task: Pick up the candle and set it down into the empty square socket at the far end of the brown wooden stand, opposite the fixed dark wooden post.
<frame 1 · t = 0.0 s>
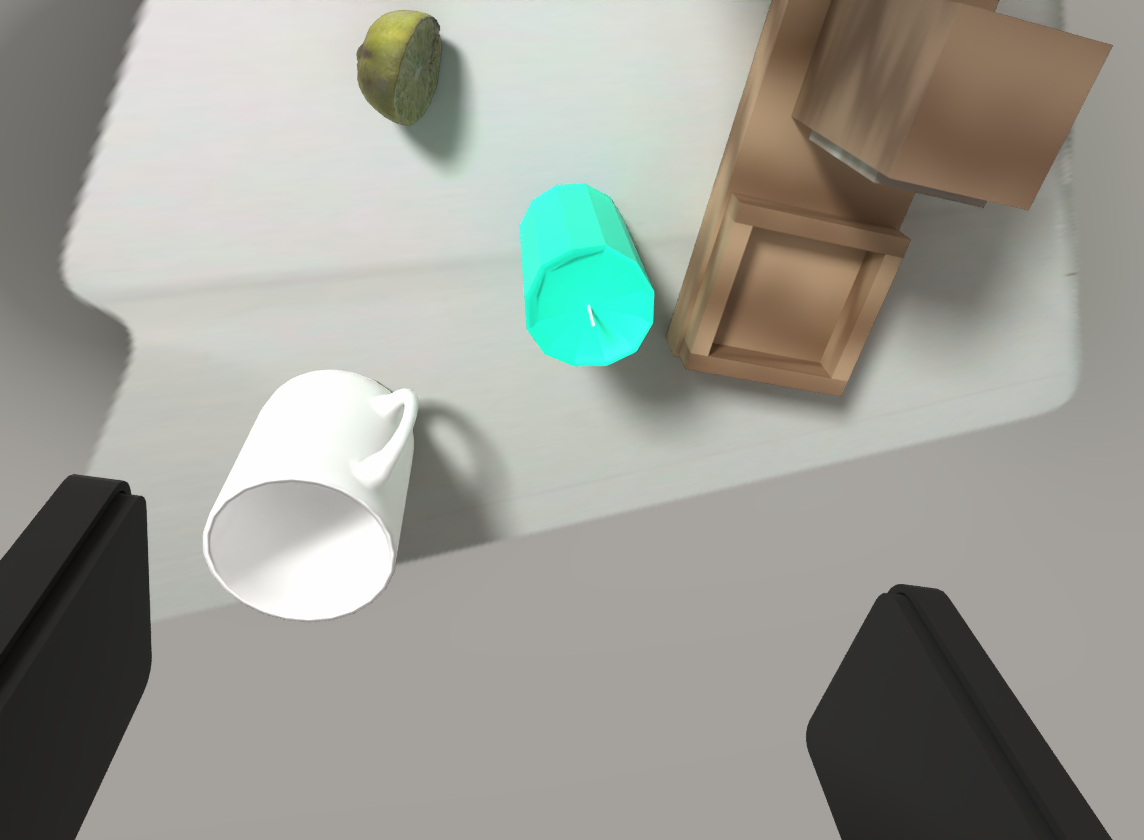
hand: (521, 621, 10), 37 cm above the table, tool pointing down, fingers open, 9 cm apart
mug: (349, 415, 51), on the table
lime: (408, 61, 41), on the table
candle: (571, 235, 46), on the table
brown wooden stand: (808, 175, 45), on the table
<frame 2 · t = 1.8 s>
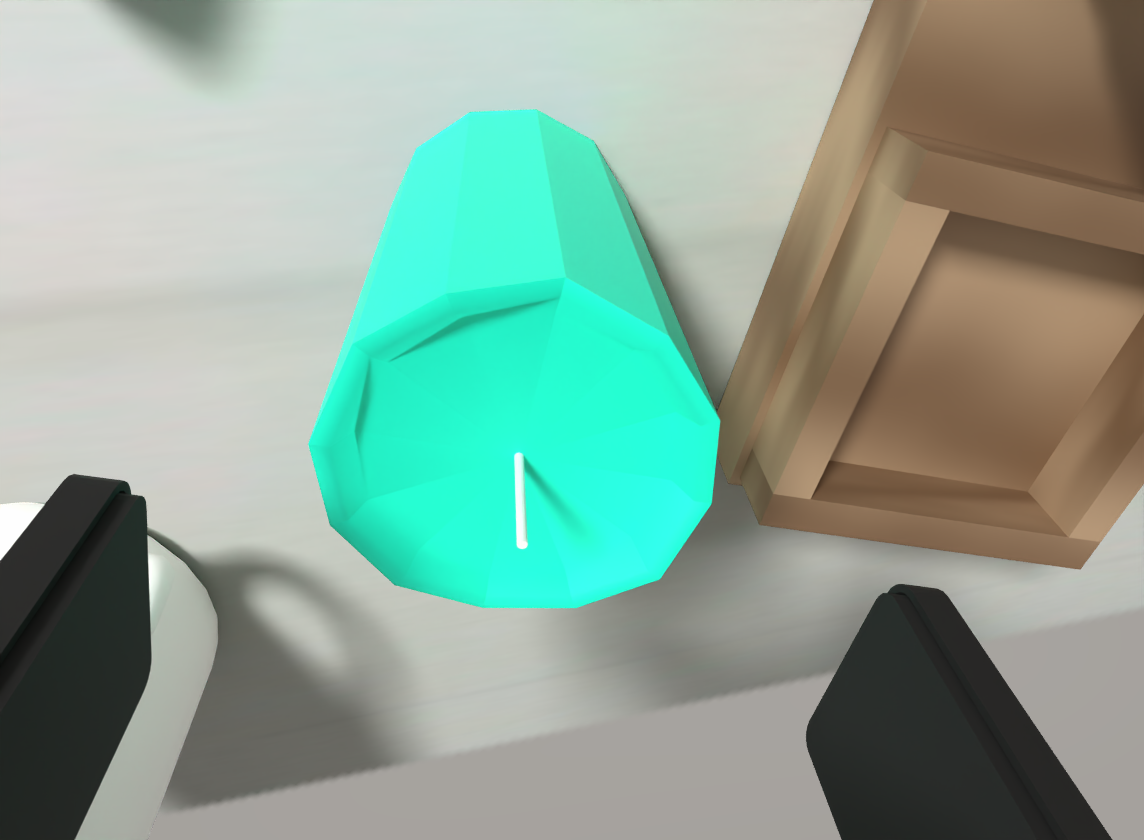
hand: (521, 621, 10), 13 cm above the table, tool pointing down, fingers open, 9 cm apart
mug: (88, 576, 26), on the table
candle: (510, 227, 21), on the table
brown wooden stand: (1043, 93, 20), on the table
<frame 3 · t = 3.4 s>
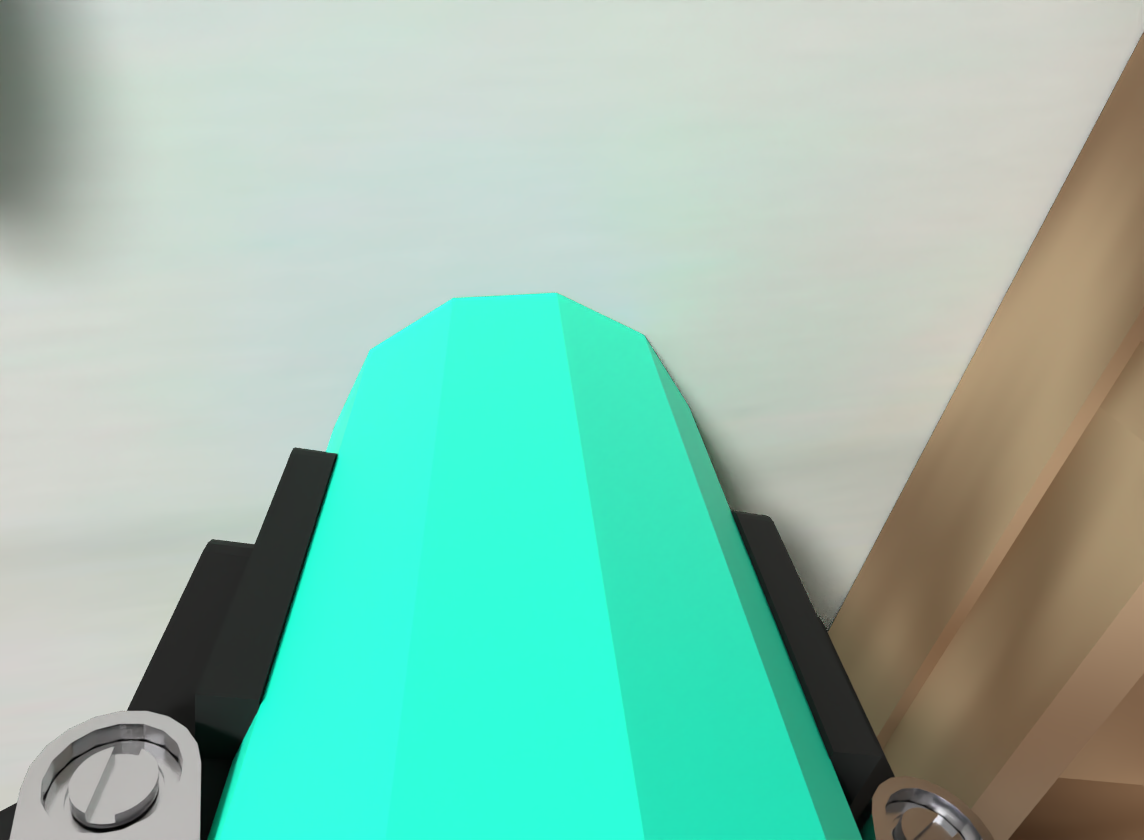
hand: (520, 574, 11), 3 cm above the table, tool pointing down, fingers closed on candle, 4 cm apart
candle: (516, 450, 14), on the table, touching gripper
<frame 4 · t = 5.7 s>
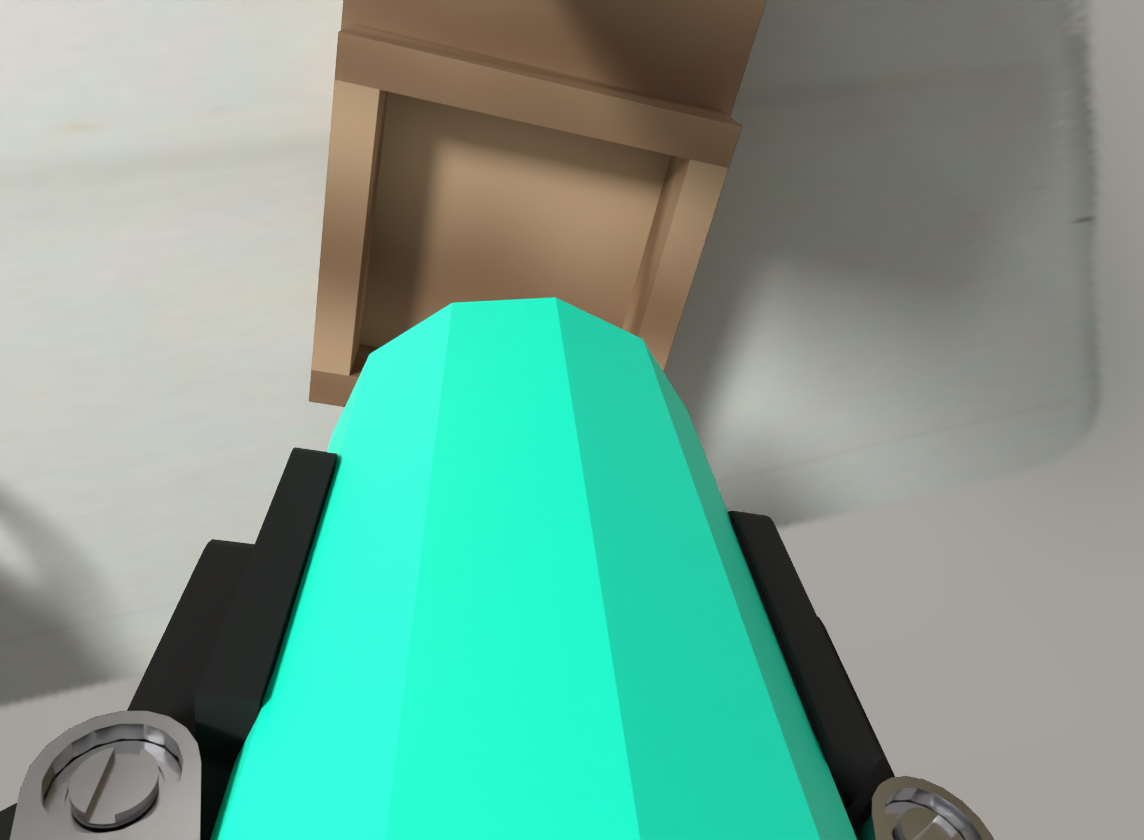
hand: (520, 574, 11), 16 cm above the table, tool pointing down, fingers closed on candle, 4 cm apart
candle: (515, 453, 14), point 13 cm above the table, touching gripper
brown wooden stand: (550, 6, 22), on the table
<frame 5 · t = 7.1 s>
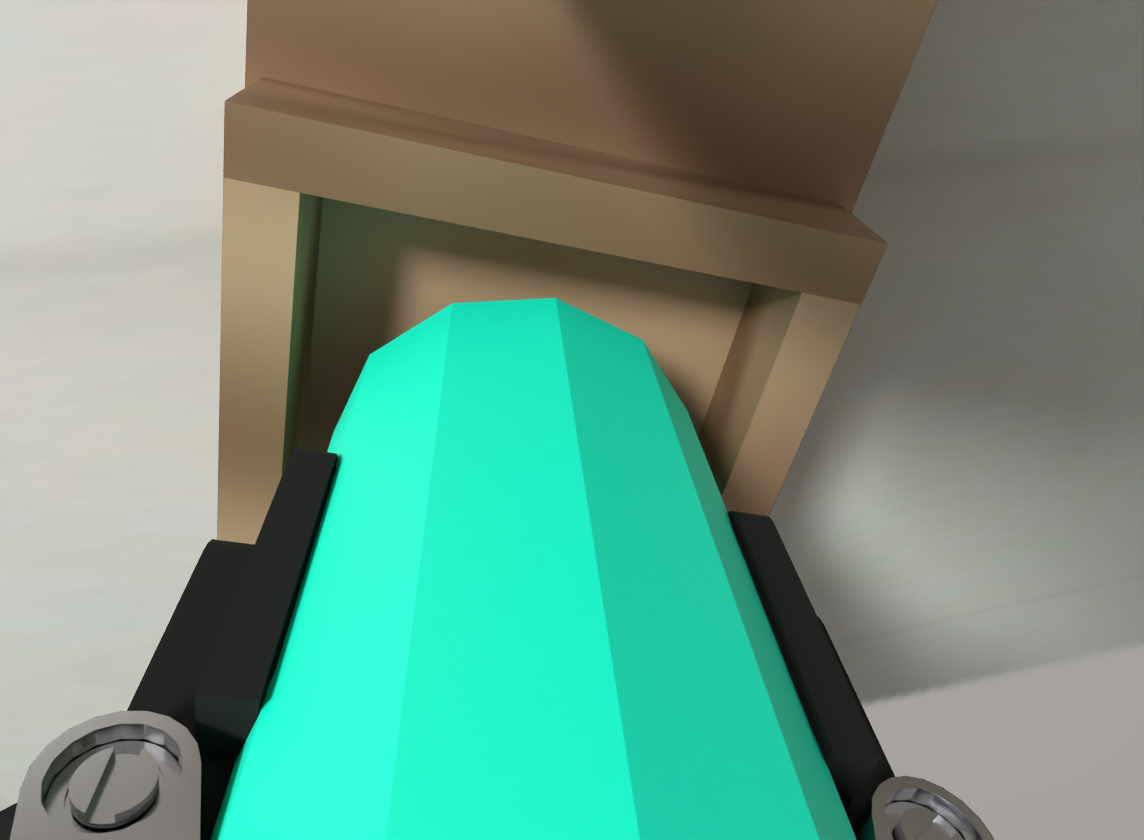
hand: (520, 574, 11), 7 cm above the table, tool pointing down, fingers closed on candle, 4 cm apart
candle: (515, 454, 14), point 4 cm above the table, touching gripper
brown wooden stand: (575, 43, 15), on the table
when the fingers open (7 cm above the table, at t = 8.0 s): candle drops 1 cm, resting on brown wooden stand.
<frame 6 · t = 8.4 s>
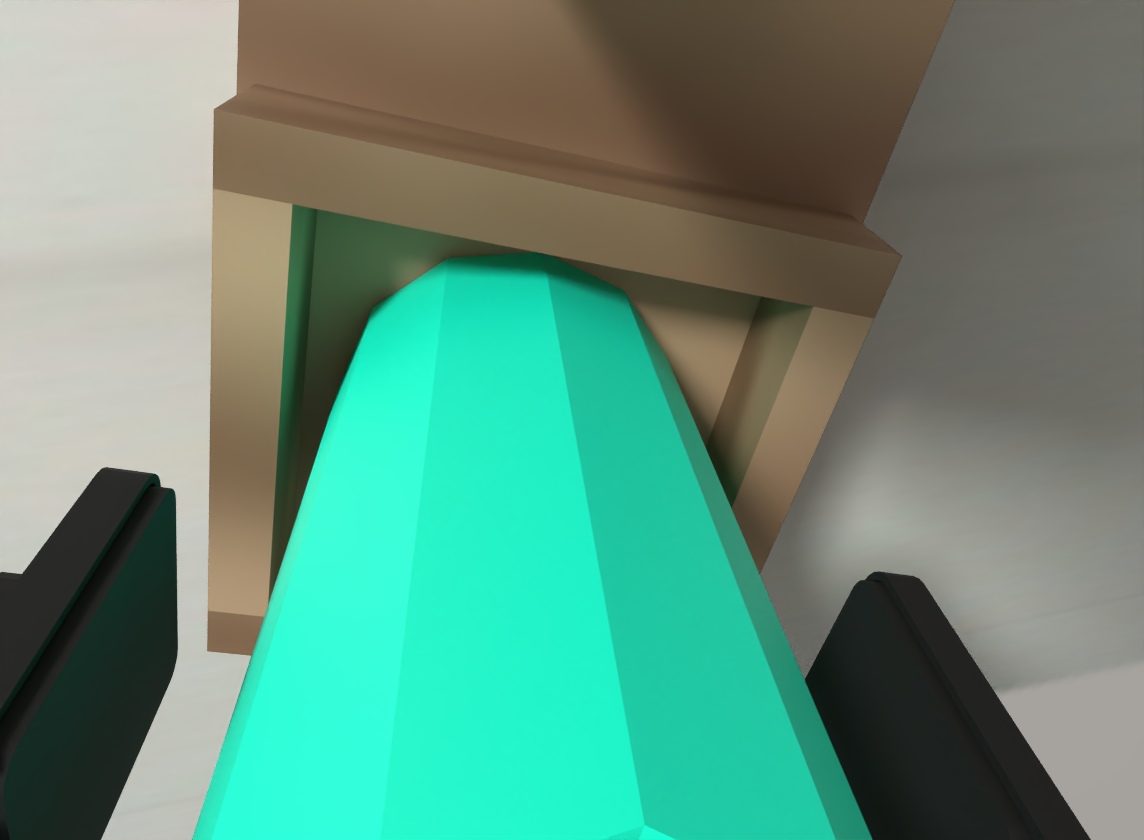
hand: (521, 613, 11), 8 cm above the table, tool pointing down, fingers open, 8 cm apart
candle: (508, 402, 15), point 2 cm above the table, touching brown wooden stand
brown wooden stand: (578, 48, 14), on the table
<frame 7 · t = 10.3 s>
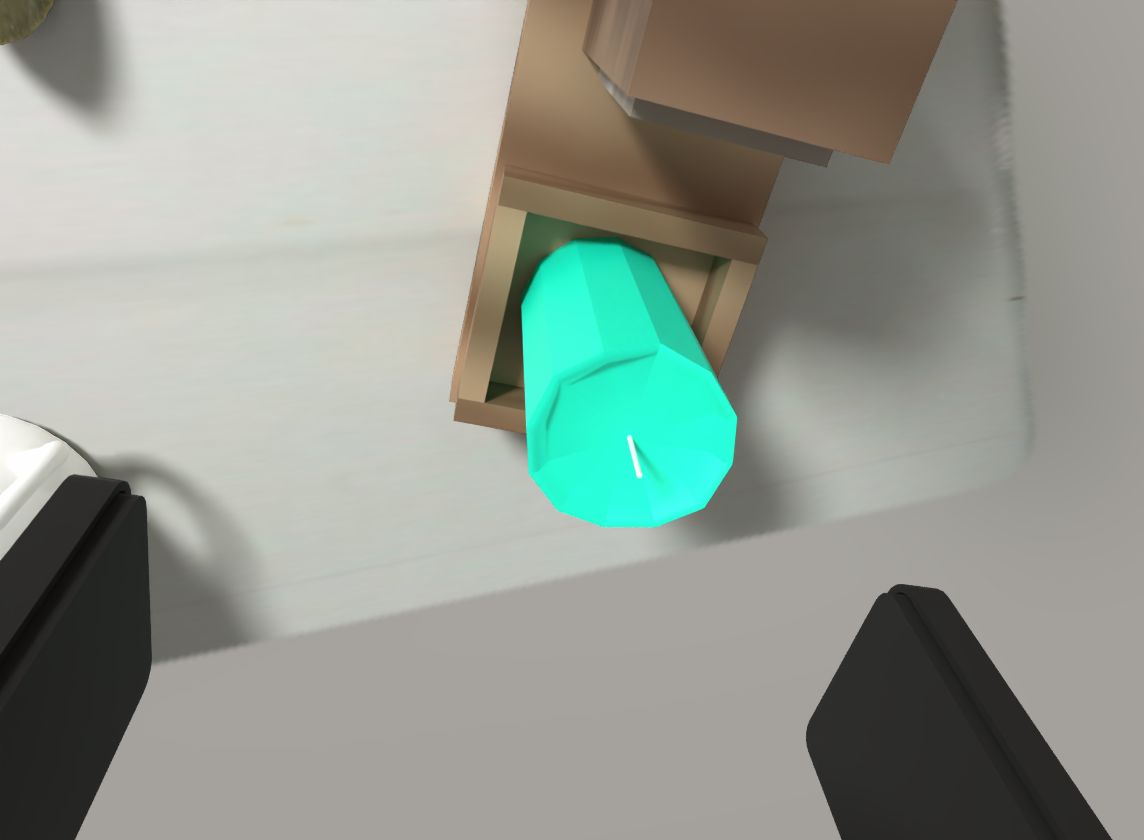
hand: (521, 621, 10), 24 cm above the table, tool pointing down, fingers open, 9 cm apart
mug: (19, 473, 37), on the table
candle: (595, 308, 32), point 2 cm above the table, touching brown wooden stand
brown wooden stand: (632, 147, 31), on the table
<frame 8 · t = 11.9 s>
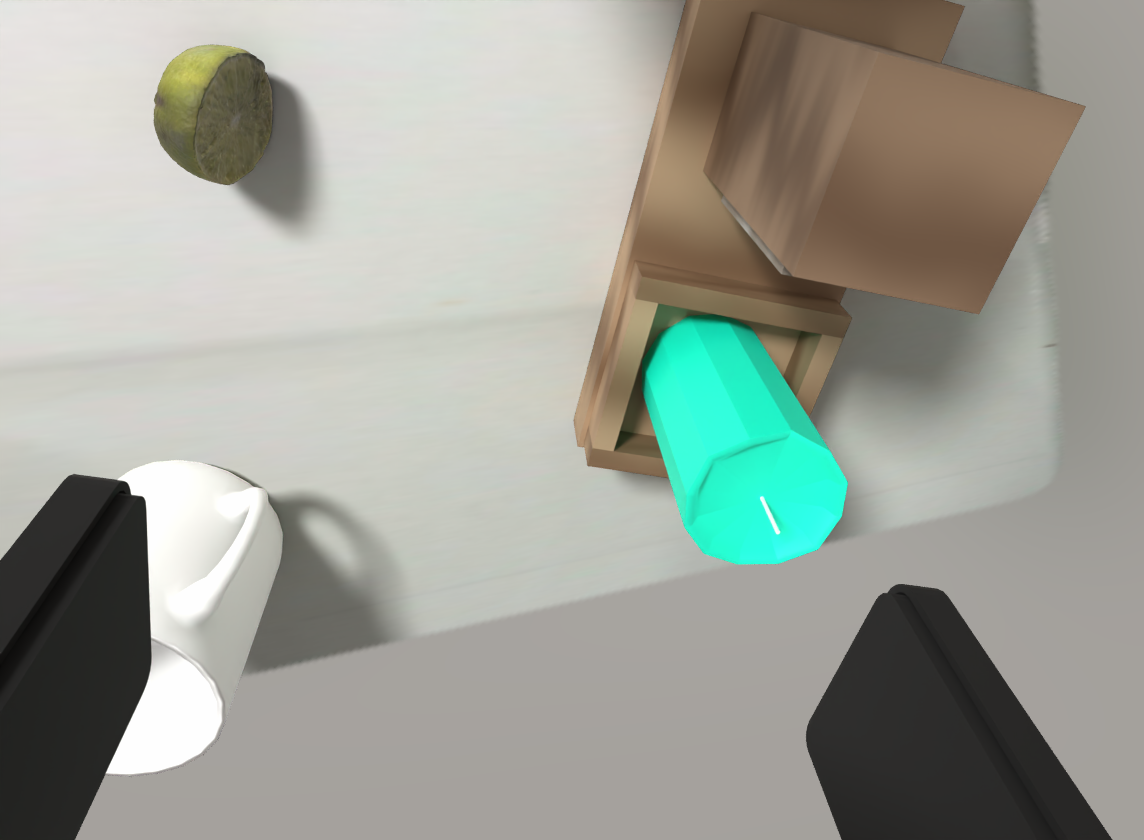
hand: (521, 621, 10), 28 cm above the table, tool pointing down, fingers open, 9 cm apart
mug: (206, 508, 43), on the table
lime: (236, 104, 33), on the table
candle: (702, 369, 38), point 2 cm above the table, touching brown wooden stand
brown wooden stand: (732, 235, 38), on the table
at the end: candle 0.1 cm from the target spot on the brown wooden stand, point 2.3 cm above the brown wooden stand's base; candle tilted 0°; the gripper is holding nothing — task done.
